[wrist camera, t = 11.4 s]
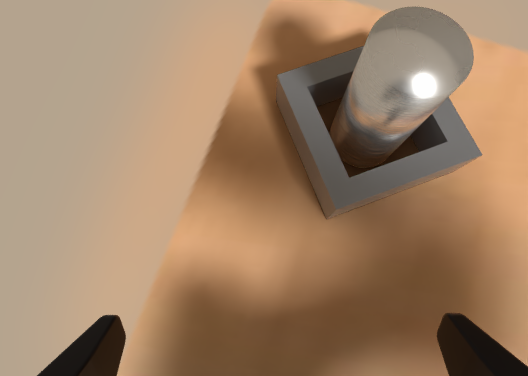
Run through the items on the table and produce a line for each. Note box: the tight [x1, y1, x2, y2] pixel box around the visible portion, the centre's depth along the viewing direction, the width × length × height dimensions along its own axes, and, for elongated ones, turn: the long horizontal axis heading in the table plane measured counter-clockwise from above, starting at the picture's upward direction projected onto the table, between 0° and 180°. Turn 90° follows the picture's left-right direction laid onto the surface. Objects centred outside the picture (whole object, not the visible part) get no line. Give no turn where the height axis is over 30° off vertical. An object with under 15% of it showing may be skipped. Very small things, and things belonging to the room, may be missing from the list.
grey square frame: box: [276, 46, 482, 219], centre depth 23 cm, size 10×10×4 cm
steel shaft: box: [329, 7, 474, 168], centre depth 20 cm, size 5×5×10 cm
